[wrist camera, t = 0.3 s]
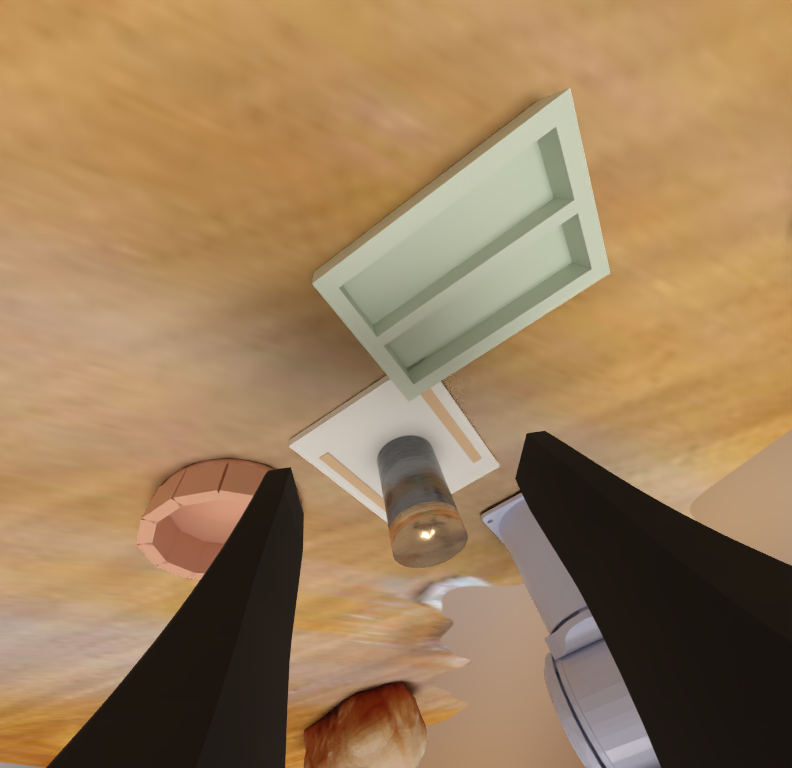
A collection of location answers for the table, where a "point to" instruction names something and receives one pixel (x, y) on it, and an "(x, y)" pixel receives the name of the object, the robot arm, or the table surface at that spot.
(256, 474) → the cup
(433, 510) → the cylinder
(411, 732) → the ceramic vessel
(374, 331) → the trough
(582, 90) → the table surface
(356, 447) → the pad
